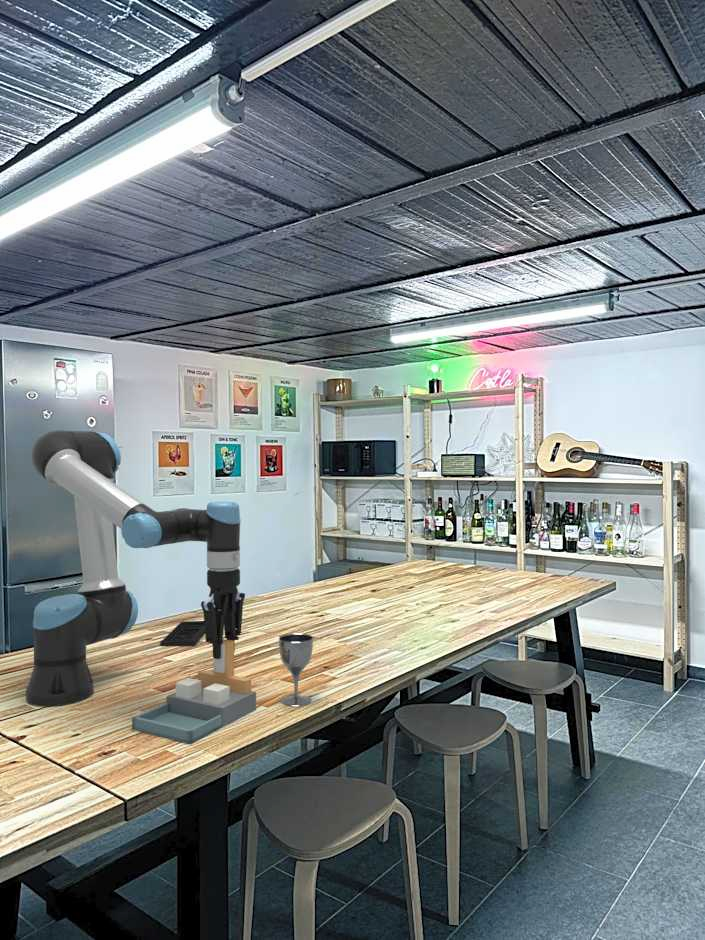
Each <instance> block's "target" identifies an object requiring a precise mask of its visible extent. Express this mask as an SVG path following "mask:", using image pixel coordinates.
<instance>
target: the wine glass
mask: <svg viewBox="0 0 705 940" xmlns="http://www.w3.org/2000/svg"><path fill="white" fill-rule="evenodd" d="M278 639H279V640H278V649H279V656H280V659H281V662H282V664H283V665H284V666H285V668H286V669H287V670H288V671H289V672H290V674H291V675H292V680H293V687H294V694H293V695H289V696H286V697H283V698H282V699H281V700H280V703H281V704H282V705H284V706H287V707H302V706H303V707H304V706H306V705H309V704H310V703H311V702H312V699H311V697H308V696H306V695H305V696H304V695H299V693H298V692H299V691H298V690H299V689H298V688H299V680H300V676H301V674H302V672H303V671H304V670H305V668H306V667H307V666H308V665H309V663H310V662H311V658H312V655H313V649H314V641H313V640H314V638H313V636H312V635H311V634H307V633H301V632H300V633H287V634H283V635H280V636H279V637H278Z"/></svg>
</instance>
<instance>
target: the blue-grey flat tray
mask: <svg viewBox="0 0 705 940" xmlns="http://www.w3.org/2000/svg"><path fill="white" fill-rule="evenodd" d="M221 728H223V727H222V715H218V716H216V717H214V718H212V719H210V720H208V721H205V720H201V719H197V718H192V717H188V716H184V715H179V714H175V713H171V712H169V707H168V703H166V702H165V703H162V704H161V705H160V704H159V705H158V706H155V707H154V708H151V709H149V710H146V711H145V712H144V711H143V712H141V713H140V714H137V715H134V716H132V717H131V729H132V730H133V731H137V732H141V733H145V734H149V735H153V736H156V737H161V738H165V739H169V740H174V741H176V742H180V743H185V744H188V745H191V744H193V743H195V742H197V741H199V740H201V739H203V738H205V737H207V736H209V735H210V734H212V733H214V732H216V731H218V730H220V729H221Z"/></svg>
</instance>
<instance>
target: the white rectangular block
mask: <svg viewBox="0 0 705 940" xmlns="http://www.w3.org/2000/svg"><path fill="white" fill-rule="evenodd" d="M228 700H230V686H226V685H221V684H213V685H211V686H208V687H206V688H204V689H203V702H204V703H209V704H213V705H220V704H222V703H224V702H226V701H228Z"/></svg>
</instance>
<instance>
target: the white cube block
mask: <svg viewBox="0 0 705 940" xmlns="http://www.w3.org/2000/svg"><path fill="white" fill-rule="evenodd" d="M175 692H176V697H181V698H185V699H191V698H193V697H196V696H198V695H200V694H201V681H200V680H198V679H196V678H195V679H194V678H189V677H187V678H185V679H183V680H180V681H177V682H175Z"/></svg>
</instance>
